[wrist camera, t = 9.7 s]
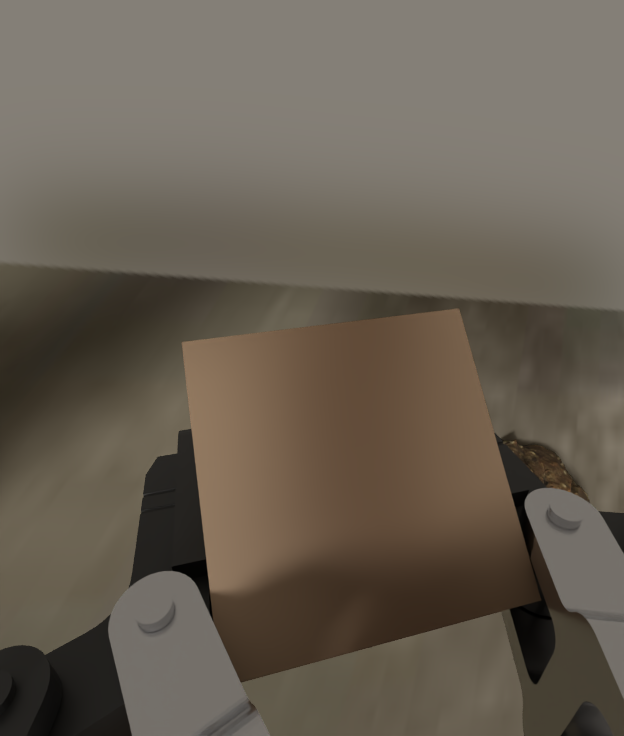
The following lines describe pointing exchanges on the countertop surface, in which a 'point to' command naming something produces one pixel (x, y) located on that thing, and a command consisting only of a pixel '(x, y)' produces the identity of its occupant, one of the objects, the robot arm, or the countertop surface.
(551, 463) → the bread roll
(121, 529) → the countertop surface
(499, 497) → the walnut block
